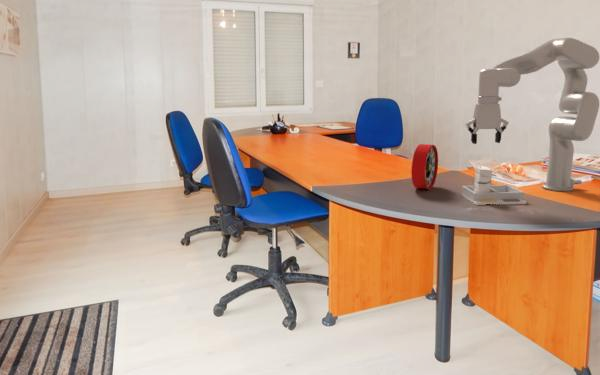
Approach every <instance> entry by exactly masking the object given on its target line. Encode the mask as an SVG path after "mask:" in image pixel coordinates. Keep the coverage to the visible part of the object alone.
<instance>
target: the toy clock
mask: <svg viewBox="0 0 600 375" xmlns="http://www.w3.org/2000/svg"><path fill="white" fill-rule="evenodd" d="M438 167H439V154H438V149H437V147H436V145H434V144H428V143H427V144H425V143H419V144H418V145H417V146H416V147H415V150H414V153H413V156H412V161H411V170H410V172H411V182H412V185H413V187H414V188H415V189H419V190H420V189H422V190H431V189H433V187H434V185H435V183H436V179H437V176H438V169H439V168H438Z"/></svg>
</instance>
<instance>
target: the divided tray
mask: <svg viewBox="0 0 600 375" xmlns="http://www.w3.org/2000/svg"><path fill="white" fill-rule="evenodd" d="M524 194H525V192H524V191H522V190H520V189H518V188H516V187H513V186H512V185H510V184H491V188H490V192H487V193H475V192H474V185H461V196H462V197H463V198H465V199H467V200H468V201H469V200H470V201H469V202H471V203H472V202H473V203H472V204H474V205H475V204H476V206H487V205H486V204H491V206H493V205H492V204H494V206H495V204H496V205H497V204H498V205H499V204H500V205H527V200H525V199H524ZM498 205H497V206H498Z"/></svg>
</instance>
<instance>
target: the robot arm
mask: <svg viewBox="0 0 600 375" xmlns="http://www.w3.org/2000/svg"><path fill="white" fill-rule="evenodd" d="M556 61H557V63H558V66H559V68H560V69H561V70H562V72H563V74H564V84H563V88H562V92H561V96H560V98H559V103H558V109H559V111H560V112H561V113H563V114H569V115H576V117H573V116H557V117H555V118H553V119H552V120H551V121H550V123H549V125H548V135H549V147H548V151H549V152H548V159H547V169H546V181H545V183H542V184H541V188H543V189H545V190H548V191H555V192H572V191H574V189H575V185H582V180H581V179H574V178H572V171H573V162H574V161H573V160H574V154H575V149H574V144H573V141H575V142H584V141H586V140H588V139H589V138H590V137H591V135H592V133H593V130H594V126H595V123H596V120H597V117H598V112H599V109H600V99H599V96H598V95H597V94H596V93H594V92H591V91H586V90H587V85H588V76H587V74H586V71H585V70H589V69H592V68H594V67H596V65H598V64H599V61H600V53H599V51H598V49H596V47H594V46H591V45H590V44H588V43H585V42H583V41H581V40H580V39H576V38H573V37H564V38H562V37H561V38H552V39H549V40H547V41H546V42H544V43H542V44H539V46H537V47H535V48H533V49H531V50H530V51H528V52H526V53H523V54H520V55H518V56H517V55H516V56H515V57H513V58H510V59H508V60H505V61H502V62H501V63H499V64H497V65H496V66H494V67H492V68H484V69H483V68H482V69H481V70H480V71H479V78H478V99H477V103H476V104H475V107H474V111H473V117H472V119H470V120H469V121H466V122H465V124H464V125H465V127H466V128H467V131H469V133H470V134H471V136H470V138H471V140H470V142H471V144H474V145H476V144H478V143H477V142H478V134H477V132H479V130H494V129H495V131H496V132H495V136H494V137H495V140H494V142H495V143H496V144H500V143H501V140H502V133H503V132H504V131H505V130H506V129H507V127H508V125H509V121H507V120H505V119H504V118H502V113H501V106H500V103H499V102H500V101H502V97H501V96H500V95H499V93H500V92H499V91H500V88H512V87H514V86H516V85H517V84H519V82H520V81H521V75H528V74H531V73H536V72H538V71H540V70H541V69H543V68H544V67H546V66H549V65H550V64H553V63H554V62H556ZM501 124H502V126H501ZM471 125H472V126H471Z"/></svg>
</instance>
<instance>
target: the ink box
mask: <svg viewBox="0 0 600 375" xmlns="http://www.w3.org/2000/svg"><path fill="white" fill-rule="evenodd" d="M492 176H493V170H492V169H491V168H490V167H488V166H484V165H483V166H482V165H477V166H475V174H474V185H473V186H474V192H475V193H487V192H490V188H491V185H492Z"/></svg>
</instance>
